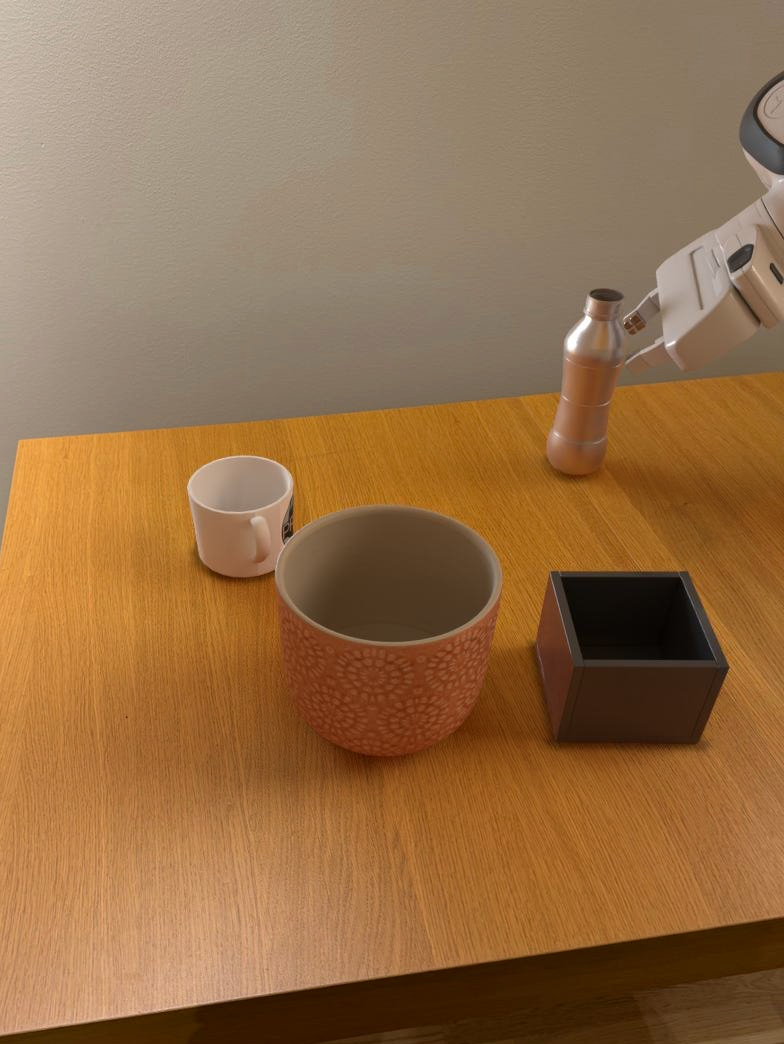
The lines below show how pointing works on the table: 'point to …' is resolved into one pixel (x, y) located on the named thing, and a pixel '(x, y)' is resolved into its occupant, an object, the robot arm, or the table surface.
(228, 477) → the mug
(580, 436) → the silver metal bottle
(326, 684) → the planter
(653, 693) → the dark square storage bin
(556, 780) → the table surface
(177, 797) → the table surface
